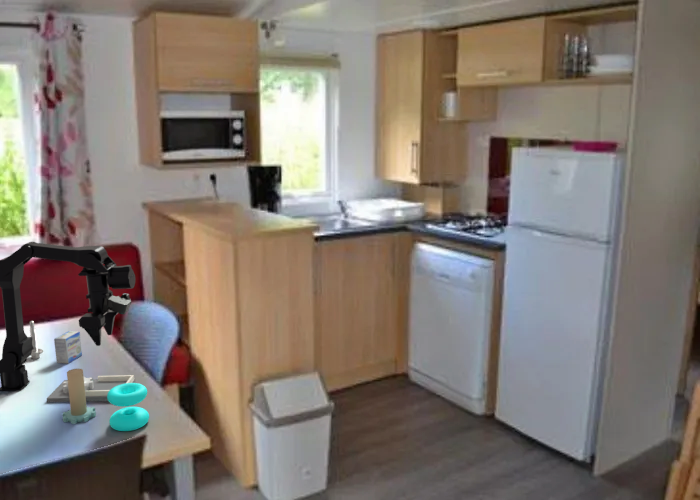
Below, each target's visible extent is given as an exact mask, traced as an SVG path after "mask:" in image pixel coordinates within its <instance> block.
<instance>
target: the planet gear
mask: <svg viewBox="0 0 700 500" xmlns="http://www.w3.org/2000/svg"><path fill="white" fill-rule="evenodd" d="M84 376H85V375H84V370H83V368H72V369H69V370H68V371H66V378H67V379H66V380H68V389H69V399H70V402H69V407H70V408H69V410H67V411H63V412H62V414H61V416H62V422H64V423H70V424H71V425H76V424H77V423H82V422H84V423H86V422H89V420H90V419H91V418H95V417H96V416H97V412H96V408H95V406H91V407H89V406H88V405H87V401H86V396H85V385H84Z"/></svg>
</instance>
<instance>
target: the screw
mask: <svg viewBox="0 0 700 500" xmlns="http://www.w3.org/2000/svg"><path fill="white" fill-rule="evenodd" d="M36 330H37V329H36V328H35V322H34V320H30V321H29V333H30V336H29V337H32V338H33V340H32V345H33V347H34V349H33V350H32V353H31V355H30V356H31V359H32V360H37V359H40V356H41V354H43V352H44V350H43V349H41V348H39V347H38V341H37V339H38V338H37V331H36Z"/></svg>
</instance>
